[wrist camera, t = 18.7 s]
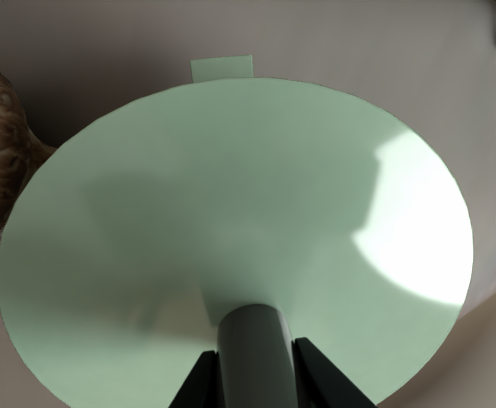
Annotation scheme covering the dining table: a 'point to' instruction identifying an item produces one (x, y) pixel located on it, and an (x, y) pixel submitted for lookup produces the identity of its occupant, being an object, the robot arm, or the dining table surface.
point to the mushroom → (16, 150)
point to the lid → (234, 248)
